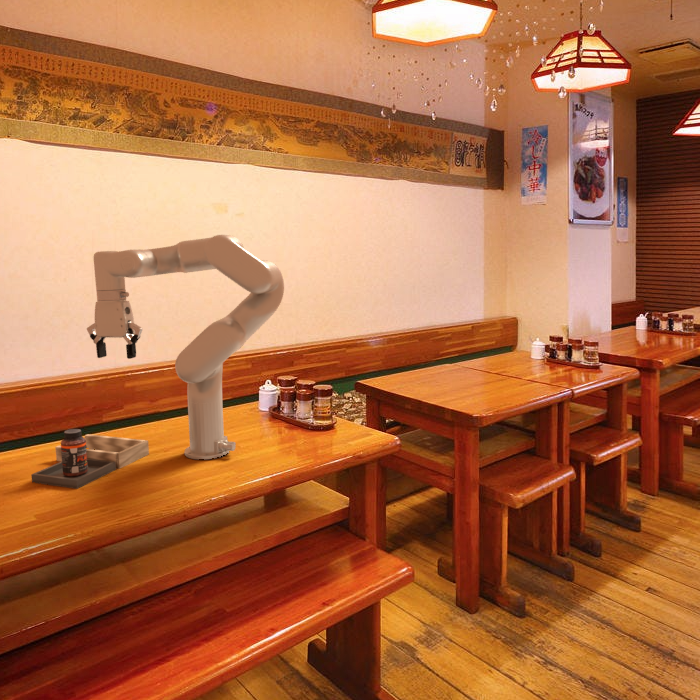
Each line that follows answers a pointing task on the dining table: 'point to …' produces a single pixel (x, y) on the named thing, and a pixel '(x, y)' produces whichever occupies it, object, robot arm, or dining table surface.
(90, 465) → the tray
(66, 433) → the supplement bottle
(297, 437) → the dining table surface
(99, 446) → the bay
